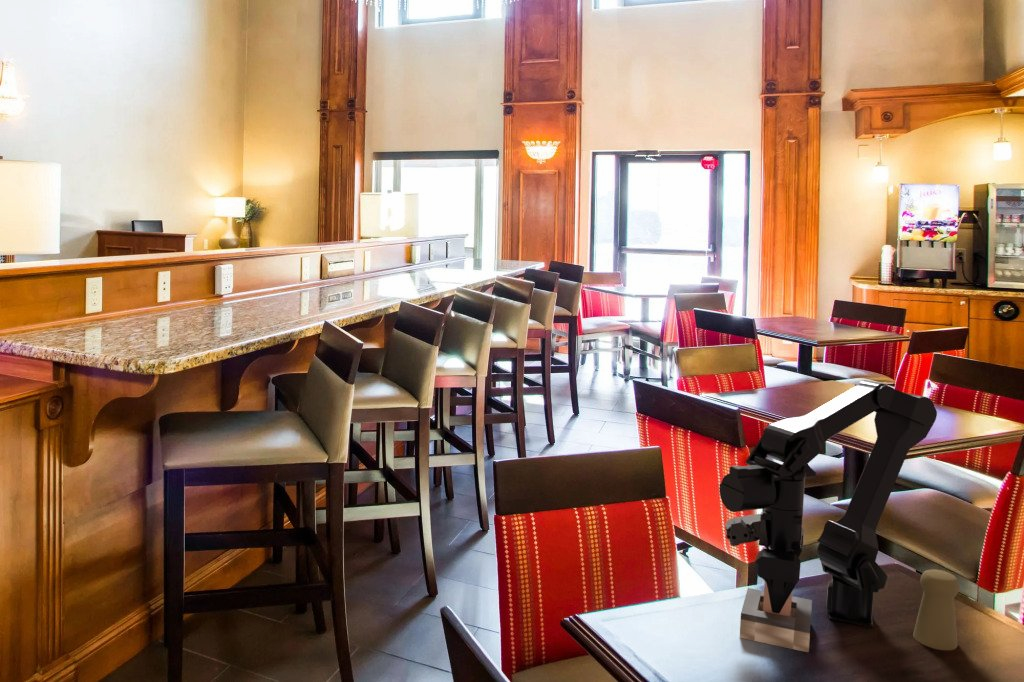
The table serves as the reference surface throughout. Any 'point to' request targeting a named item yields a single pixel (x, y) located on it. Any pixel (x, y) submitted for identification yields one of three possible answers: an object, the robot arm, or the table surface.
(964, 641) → the table surface
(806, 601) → the socket block
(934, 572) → the beige pepper mill
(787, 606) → the square peg
